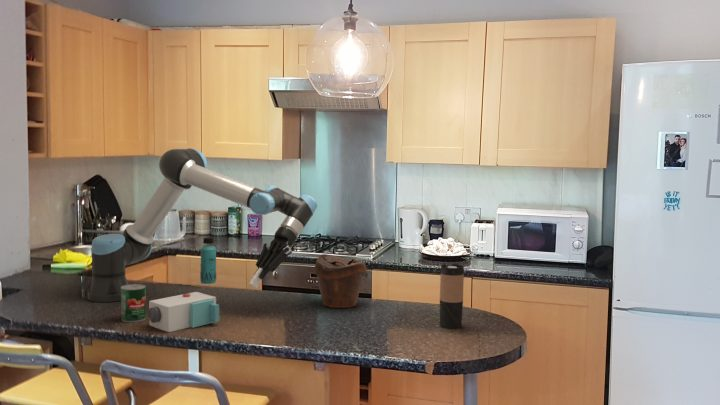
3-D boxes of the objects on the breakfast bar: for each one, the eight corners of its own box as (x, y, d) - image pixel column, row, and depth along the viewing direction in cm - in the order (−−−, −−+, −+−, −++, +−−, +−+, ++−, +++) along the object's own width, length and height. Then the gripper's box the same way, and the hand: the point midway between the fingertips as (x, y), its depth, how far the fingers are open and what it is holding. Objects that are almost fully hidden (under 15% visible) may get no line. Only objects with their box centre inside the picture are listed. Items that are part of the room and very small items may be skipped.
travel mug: (456, 330, 208) (458, 269, 206) (435, 326, 212) (436, 266, 210) (465, 324, 215) (467, 265, 213) (444, 321, 219) (446, 262, 217)
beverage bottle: (197, 286, 263) (196, 238, 261) (206, 283, 269) (206, 236, 268) (210, 288, 261) (210, 239, 259) (219, 285, 267) (219, 237, 265)
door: (190, 326, 206) (190, 303, 205) (210, 321, 212) (210, 299, 211) (198, 329, 203) (198, 306, 203) (219, 324, 209) (219, 301, 209)
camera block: (145, 326, 207) (144, 300, 206) (196, 314, 222) (196, 290, 221) (164, 333, 199) (164, 306, 199) (216, 320, 214) (216, 295, 213)
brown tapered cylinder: (369, 309, 231) (369, 260, 230) (313, 310, 230) (313, 260, 228) (365, 298, 249) (366, 252, 247) (313, 299, 247) (313, 252, 246)
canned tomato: (135, 323, 210) (134, 290, 209) (116, 320, 213) (115, 287, 212) (151, 317, 217) (150, 285, 216) (132, 314, 220) (131, 283, 219)
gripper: (306, 240, 229) (271, 295, 218) (281, 236, 237) (246, 288, 226) (295, 227, 224) (259, 282, 213) (270, 223, 232) (234, 276, 221)
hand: (252, 285), depth 219 cm, fingers closed
